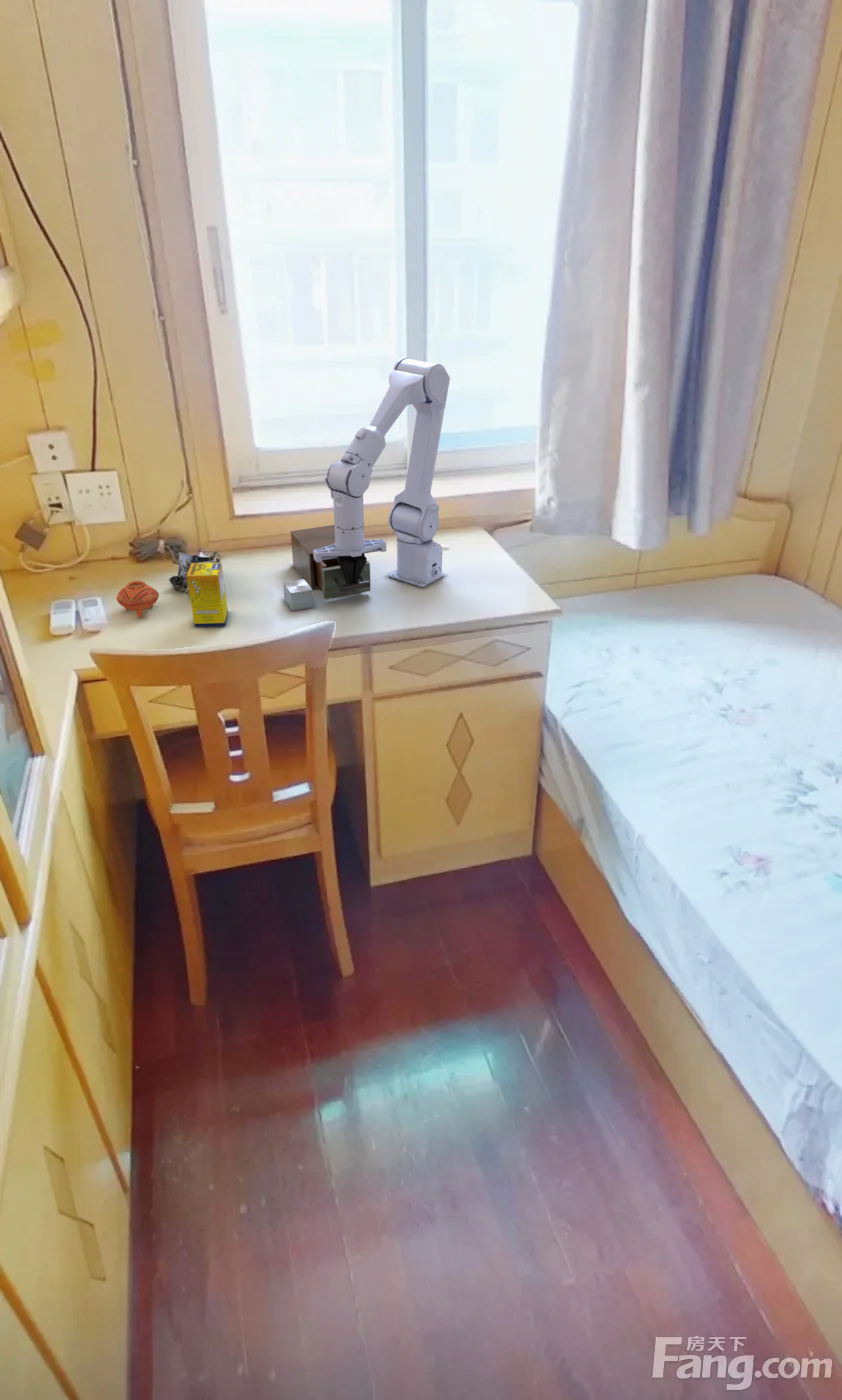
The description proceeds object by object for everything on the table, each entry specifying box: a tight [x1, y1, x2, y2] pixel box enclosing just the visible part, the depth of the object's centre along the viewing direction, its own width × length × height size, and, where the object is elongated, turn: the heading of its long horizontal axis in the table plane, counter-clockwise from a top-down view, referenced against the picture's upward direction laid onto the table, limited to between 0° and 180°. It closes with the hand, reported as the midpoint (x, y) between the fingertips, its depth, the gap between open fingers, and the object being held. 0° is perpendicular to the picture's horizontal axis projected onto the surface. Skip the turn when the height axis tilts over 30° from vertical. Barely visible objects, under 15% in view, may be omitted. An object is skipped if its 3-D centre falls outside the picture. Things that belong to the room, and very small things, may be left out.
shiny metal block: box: [282, 578, 314, 612], centre depth 168 cm, size 6×4×4 cm
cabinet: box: [290, 524, 335, 590], centre depth 180 cm, size 14×11×8 cm
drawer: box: [313, 557, 371, 600], centre depth 172 cm, size 18×10×6 cm, turn 24°
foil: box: [168, 551, 222, 596], centre depth 173 cm, size 12×11×15 cm
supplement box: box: [187, 563, 229, 628], centre depth 160 cm, size 6×6×11 cm
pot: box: [116, 580, 160, 619], centre depth 164 cm, size 8×8×7 cm
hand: (351, 588), depth 168 cm, fingers closed, pressing on drawer
